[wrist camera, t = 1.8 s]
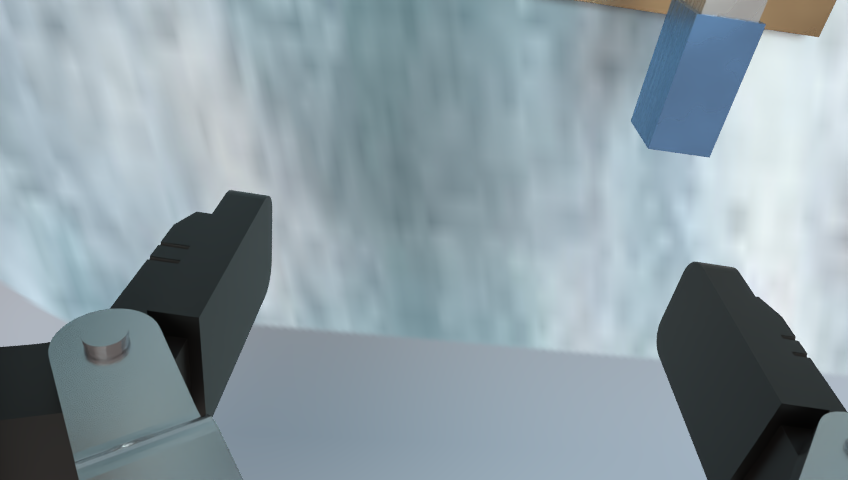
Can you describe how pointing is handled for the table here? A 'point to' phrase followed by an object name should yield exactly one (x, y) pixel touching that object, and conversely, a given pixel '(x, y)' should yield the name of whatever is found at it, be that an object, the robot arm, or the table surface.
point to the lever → (696, 73)
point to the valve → (785, 11)
